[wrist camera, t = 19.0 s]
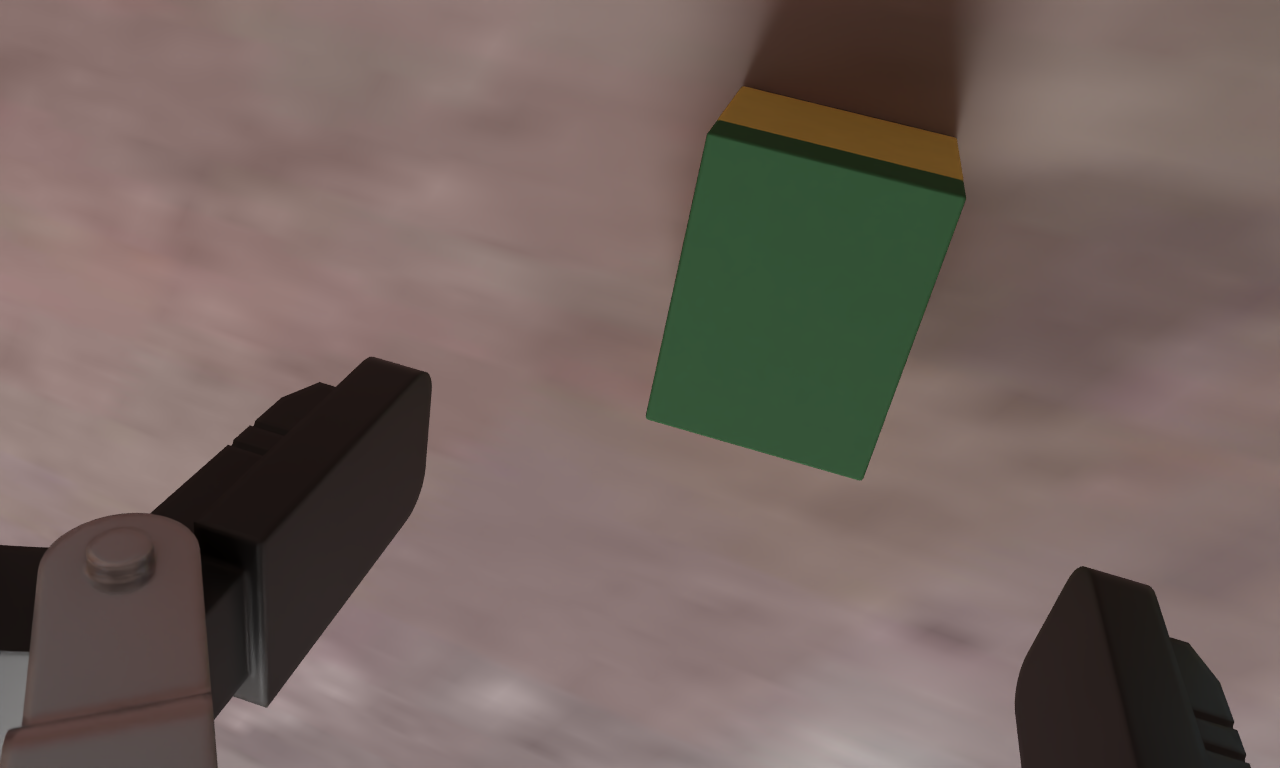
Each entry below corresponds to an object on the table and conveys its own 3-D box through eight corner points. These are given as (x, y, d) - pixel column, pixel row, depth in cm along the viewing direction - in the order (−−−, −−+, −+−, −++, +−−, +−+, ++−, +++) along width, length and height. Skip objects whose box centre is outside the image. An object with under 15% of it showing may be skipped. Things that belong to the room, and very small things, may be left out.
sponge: (741, 84, 20) (707, 131, 17) (957, 137, 20) (967, 196, 16) (683, 336, 23) (644, 419, 20) (869, 388, 23) (862, 482, 19)
